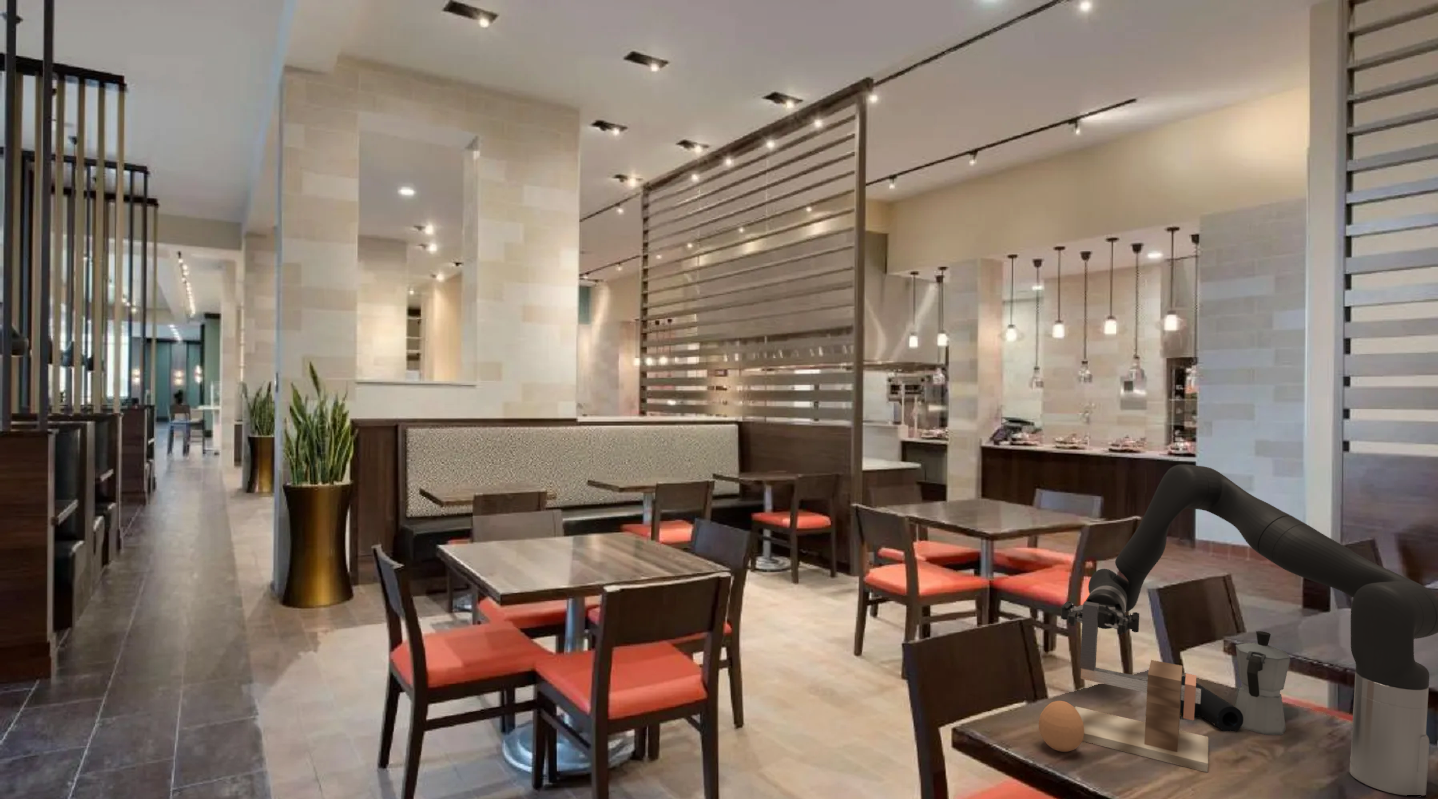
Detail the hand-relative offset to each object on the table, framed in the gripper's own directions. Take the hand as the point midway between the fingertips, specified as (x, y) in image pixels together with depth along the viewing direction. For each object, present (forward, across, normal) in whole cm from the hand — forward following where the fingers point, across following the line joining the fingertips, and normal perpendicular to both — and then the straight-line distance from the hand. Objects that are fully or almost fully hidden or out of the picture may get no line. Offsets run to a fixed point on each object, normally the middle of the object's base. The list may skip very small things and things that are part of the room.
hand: (1096, 625), depth 155 cm
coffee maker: (-11, +27, +17) cm, 34 cm away
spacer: (+10, +16, +10) cm, 22 cm away
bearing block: (+10, +8, +17) cm, 21 cm away
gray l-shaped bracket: (+10, +8, +7) cm, 15 cm away
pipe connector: (-10, +16, +18) cm, 26 cm away
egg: (+22, -2, +17) cm, 28 cm away
